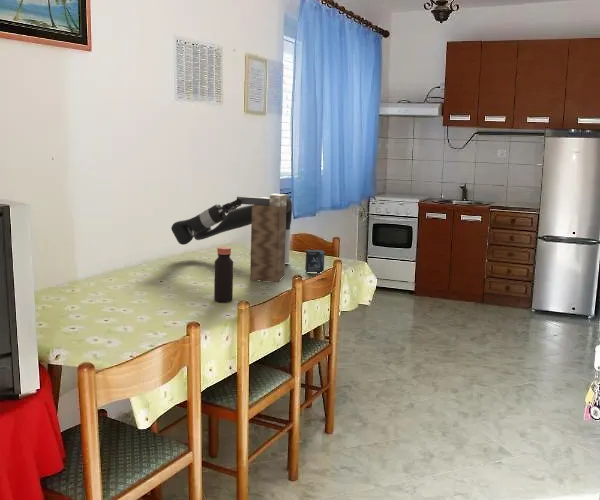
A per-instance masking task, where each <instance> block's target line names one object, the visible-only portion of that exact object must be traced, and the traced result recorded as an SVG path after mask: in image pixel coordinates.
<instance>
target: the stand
mask: <svg viewBox="0 0 600 500" xmlns="http://www.w3.org/2000/svg"><path fill="white" fill-rule="evenodd" d="M287 196H288V195H287V194H286V193H285V194H284V193H272V194H270V195H269V198H270V206H265V205H253V206H252V223H251V224H250V225H251V229H250V230H251V231H250V233H251V236H250V268H249V269H250V271H249V274H250V276H249V278H250V279H249V280H250V281H253V280H260V281H259V282H264V281H271V282H270V283H276V282H277V283H279V282H280V281H281V280H282V279H283V278H284V277H285V266H286V265H285V236H286V200H287ZM283 276H284V277H283ZM282 277H283V278H282ZM281 278H282V279H281ZM280 279H281V280H280ZM279 280H280V281H279ZM278 281H279V282H278Z"/></svg>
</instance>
